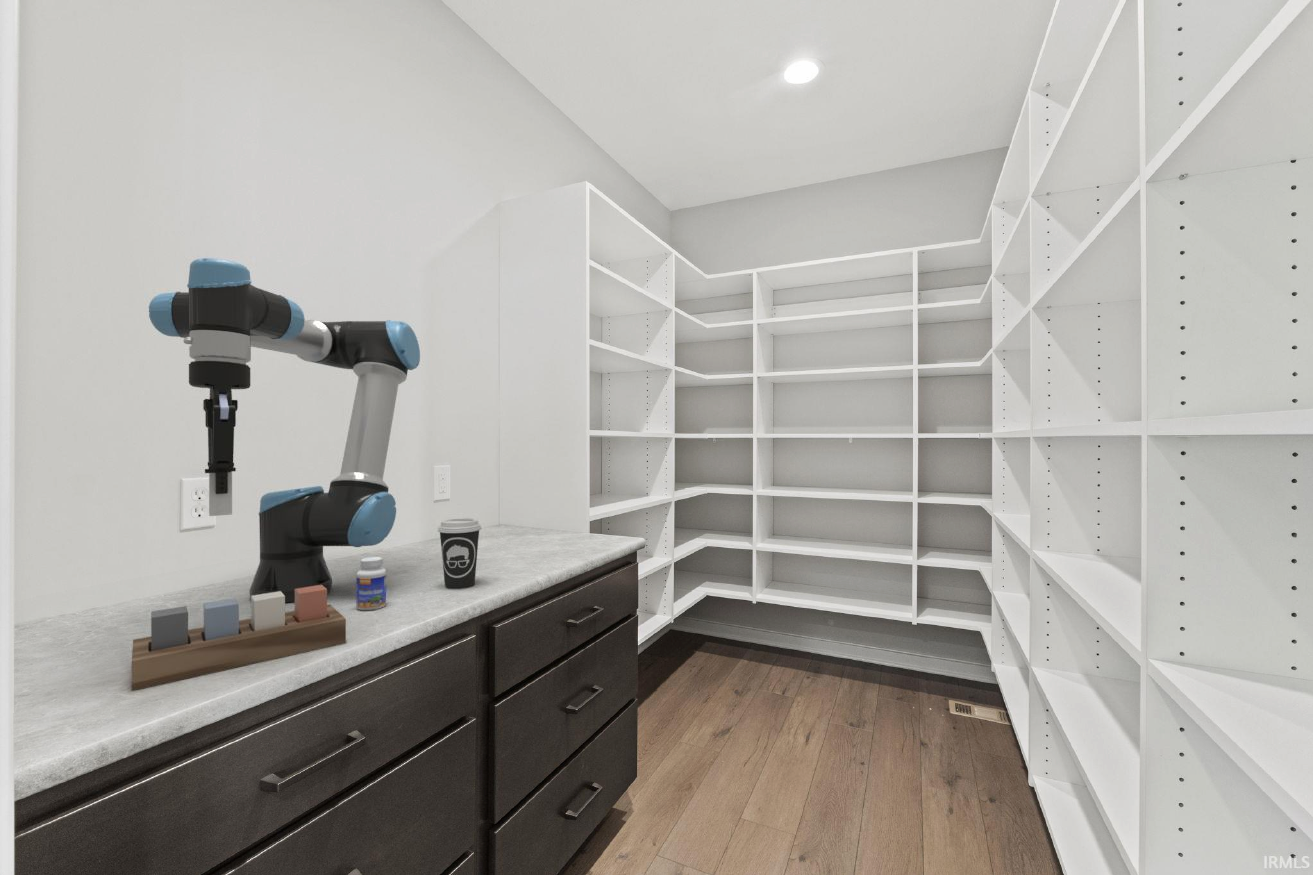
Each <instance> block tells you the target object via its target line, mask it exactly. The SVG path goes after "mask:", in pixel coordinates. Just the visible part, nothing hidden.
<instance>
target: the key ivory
mask: <svg viewBox="0 0 1313 875" xmlns="http://www.w3.org/2000/svg"><path fill="white" fill-rule="evenodd" d="M250 610H251V611H250V615H251V616H250V619H251V627H252V629H253V631H259V630H264V629H269V628H274V627H280V626H285V612H286V602H285V596H284V595H283V593H282V592H281V591H278V592H272V593H266V594H259V595H253V596H251V600H250Z"/></svg>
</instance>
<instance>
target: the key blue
mask: <svg viewBox="0 0 1313 875" xmlns="http://www.w3.org/2000/svg"><path fill="white" fill-rule="evenodd" d="M239 607H240V604H239V601H238V600H237V598H230V599H229V598H228V599H222V600H215V601H208V602H204V603H203V627H204V639H205V641H207V640H212V639H217V638H223V637H228V636H233V635H238V634H239V621H240V615H239V614H240V611H239V610H240V608H239Z"/></svg>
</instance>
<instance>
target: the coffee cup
mask: <svg viewBox="0 0 1313 875" xmlns="http://www.w3.org/2000/svg"><path fill="white" fill-rule="evenodd" d="M478 520H479V519H478V518H470V517H460V518H450V519H449V518H448V519H444V520H441V522H440V525H439V526H438V529H437V532H439V538H440V547H441V557H442V567H443V568H442V569H443V578H444V579H443V582H444V587H445V589H449V590H461V589H467V588H472V587H473V586H474V585H475V584H476V570H477V560H478V559H477V558H478V548H479V538H480V537H479V536H480V530H482V526H481V524H480V523H479V521H478Z"/></svg>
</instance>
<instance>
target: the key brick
mask: <svg viewBox="0 0 1313 875" xmlns="http://www.w3.org/2000/svg"><path fill="white" fill-rule="evenodd" d="M327 605H328V593H327V589H326V588H325V587H324V586H323V585H316V586H310V587H304V588H297V589H295V601H294V611H295V619H296V621H297V622H298V623H300V622H305V621H311V620H316V619H321V618H326V617H327Z"/></svg>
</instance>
